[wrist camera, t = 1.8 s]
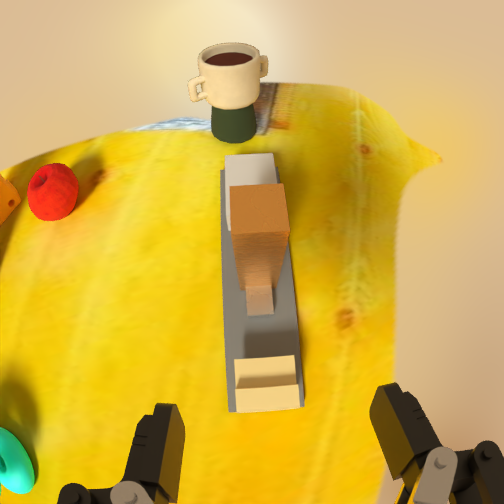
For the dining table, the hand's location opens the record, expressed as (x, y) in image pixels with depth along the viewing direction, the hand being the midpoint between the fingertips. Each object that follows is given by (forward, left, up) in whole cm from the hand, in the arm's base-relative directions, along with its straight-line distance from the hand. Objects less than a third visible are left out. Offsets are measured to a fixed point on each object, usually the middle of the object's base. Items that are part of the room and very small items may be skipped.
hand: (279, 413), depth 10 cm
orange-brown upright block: (-12, +10, -16) cm, 22 cm away
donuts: (-11, -35, -17) cm, 41 cm away
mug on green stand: (-26, +20, -17) cm, 37 cm away
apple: (-34, -5, -17) cm, 39 cm away
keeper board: (-9, +7, -17) cm, 20 cm away
